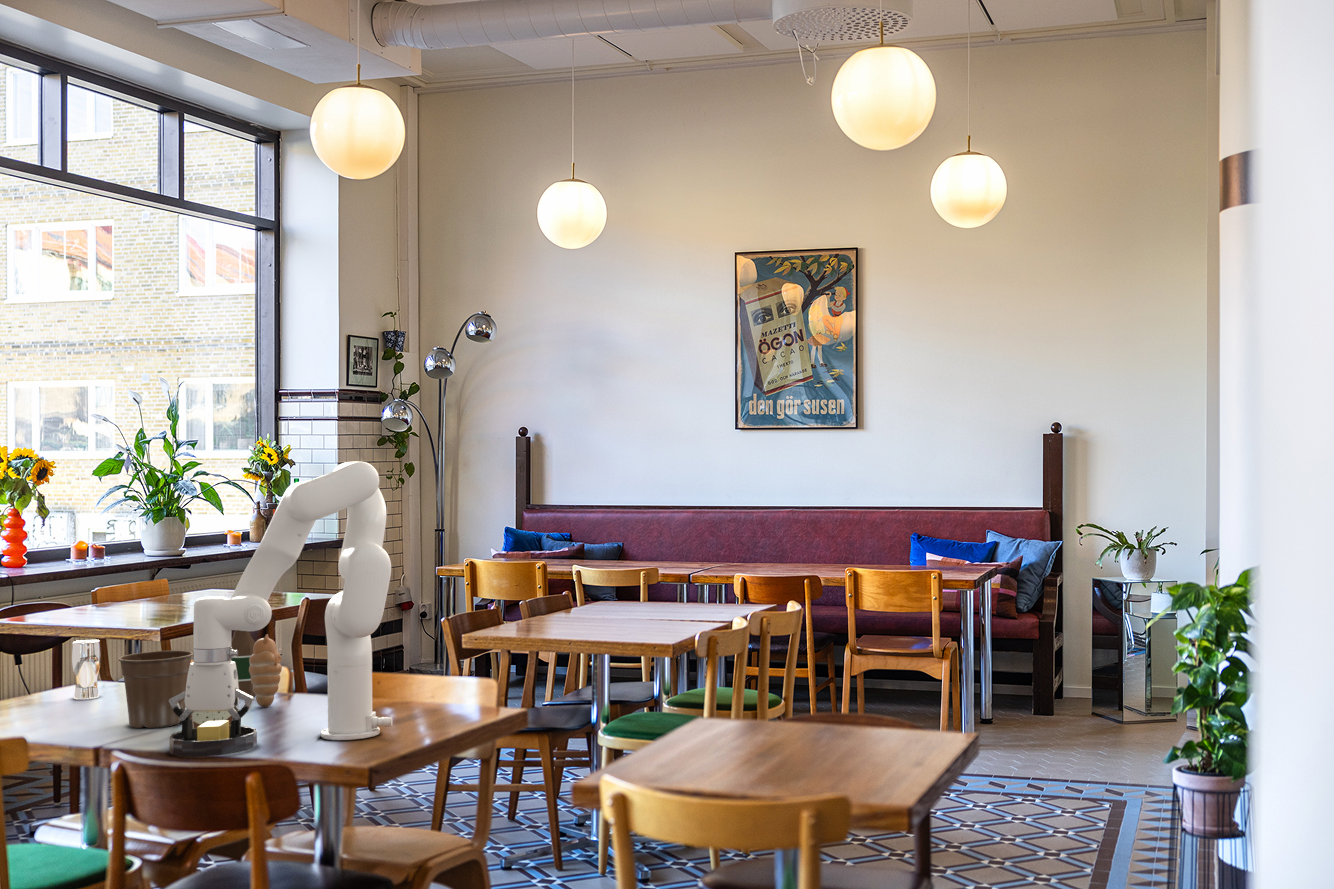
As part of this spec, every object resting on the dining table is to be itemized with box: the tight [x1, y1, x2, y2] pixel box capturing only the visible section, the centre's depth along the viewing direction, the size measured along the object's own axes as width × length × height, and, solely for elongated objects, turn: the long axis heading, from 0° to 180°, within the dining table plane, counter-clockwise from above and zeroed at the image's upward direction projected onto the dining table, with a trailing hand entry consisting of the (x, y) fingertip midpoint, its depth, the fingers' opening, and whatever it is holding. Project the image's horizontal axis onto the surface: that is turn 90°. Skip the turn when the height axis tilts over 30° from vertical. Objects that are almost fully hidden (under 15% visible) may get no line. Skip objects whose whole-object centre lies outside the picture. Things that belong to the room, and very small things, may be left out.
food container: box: [184, 699, 233, 729], centre depth 284 cm, size 12×6×10 cm, turn 141°
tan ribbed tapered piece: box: [249, 633, 283, 708], centre depth 319 cm, size 9×8×18 cm
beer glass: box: [71, 639, 102, 701], centre depth 339 cm, size 7×7×15 cm
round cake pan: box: [168, 725, 258, 757], centre depth 266 cm, size 17×17×4 cm
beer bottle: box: [231, 630, 256, 698], centre depth 337 cm, size 8×8×24 cm
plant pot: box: [117, 650, 193, 729], centre depth 298 cm, size 16×16×16 cm
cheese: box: [197, 720, 229, 741], centre depth 266 cm, size 4×7×5 cm, turn 3°
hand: (211, 738), depth 266 cm, fingers open, 9 cm apart
